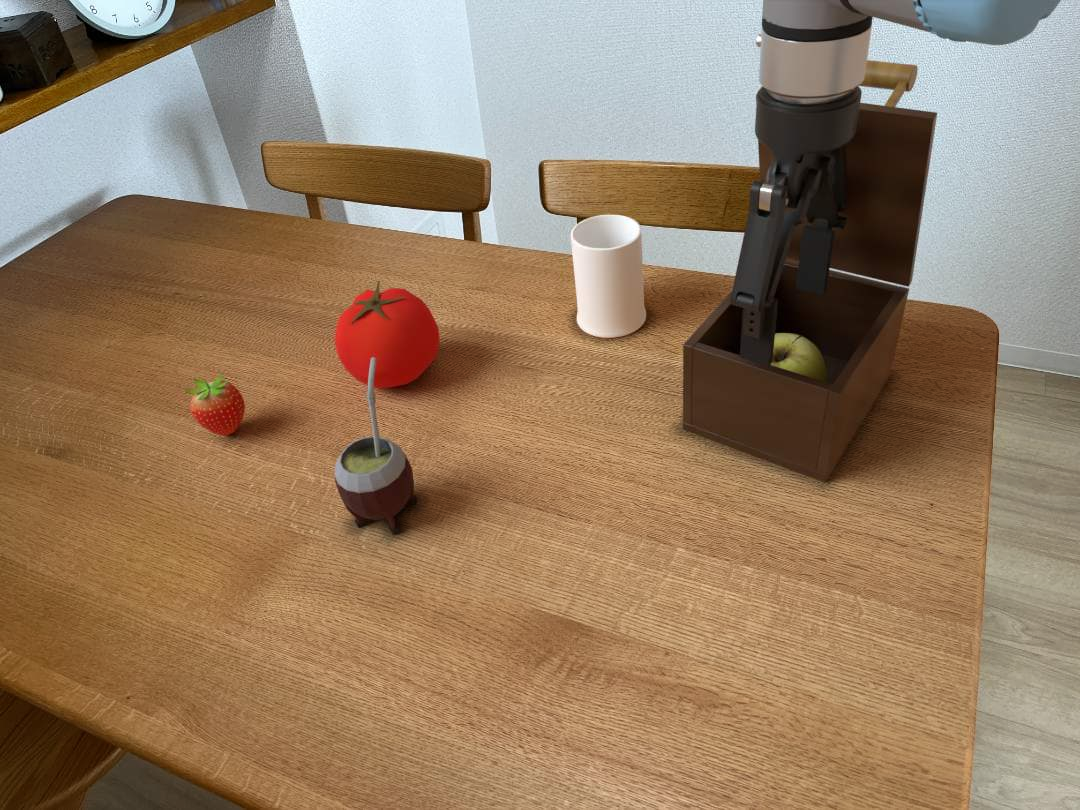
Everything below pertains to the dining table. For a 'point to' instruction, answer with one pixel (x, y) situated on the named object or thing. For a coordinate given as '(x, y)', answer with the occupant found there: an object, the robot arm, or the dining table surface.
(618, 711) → the dining table surface
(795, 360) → the apple
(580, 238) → the mug
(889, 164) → the lid
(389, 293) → the tomato
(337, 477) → the mate gourd
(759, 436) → the chest
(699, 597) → the dining table surface
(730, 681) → the dining table surface
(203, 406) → the fruit
